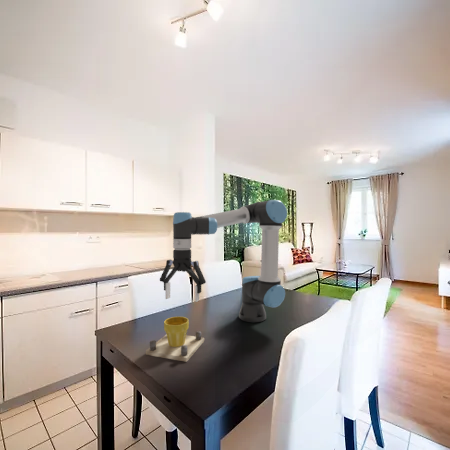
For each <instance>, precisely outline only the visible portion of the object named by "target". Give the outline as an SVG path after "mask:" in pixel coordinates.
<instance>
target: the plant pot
mask: <svg viewBox="0 0 450 450" xmlns="http://www.w3.org/2000/svg"><path fill="white" fill-rule="evenodd" d="M189 321H190V320H189V318H187V317H185V316H172V317H169V318H166V319H165V320H164V322H163V328H164V329H163V330H164V332H165V333H166V334H167V338H168V343H169V345H170V346H171V347H179V346H182V345H184V343H185V338H186V335H187V333H188V329H190V328H189V325H190V322H189ZM166 334H165V335H166Z"/></svg>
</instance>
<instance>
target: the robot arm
mask: <svg viewBox="0 0 450 450" xmlns="http://www.w3.org/2000/svg"><path fill="white" fill-rule="evenodd" d="M287 217H288V210H287V207H286V205H285V204H284V203H283V202H282V201H281V200H278V199H270V200H263V201H257V202H254V203H251V204H247V205H243V206H241V207H240V208H237V209H231V210H227V211H222V212H221V211H220V212H217V213H211V214H207V215H206V214H205V215H201V216H200V215H199V216H195V217H194V216H192V213H191V212H187V211H185V212H184V211H183V212H182V211H181V212H178V211H177V212H174V213H173V217H172V232H173V233H172V237H173V239H172V240H173V241H172V247H173V251H172V254H173V255H172V258H173V260H172V259H167V260H166V264H165V267H164V268H163V271H162V273H161V275H160V277H159V281H160V282H162V283H163V291H165V300H167V299H170V298H171V282H170V280H171V279H172V278H173V276H174V275H175V274H176V273H177V272H183V273H184V272H186V273H187V274H188V275H189V277H191V279H192V280H193V282H194V283H195V284H196V285H194V295H195V296H194V302H195V303H197V302H199V301H200V294H202V285H204V284H206V283H207V281H206V279H205V277H204V275H203V272H202V270H201V268H200V265H199V264H200V263H199V260H195V261H194V260H193V261H192V249H191V248H192V236H194V235H199V236H200V235H201V236H202V235H207V236H208V235H215V234H216V232H217V231H218V229H220V228H223V227H228V226H229V227H230V226H234V225H237V224H238V225H239V224H244V225H247V224H251V223H252V224H253V223H254V224H255V223H256V224H258V225H259V228H260V229H261V255H260V257H261V259H260V263H261V264H260V265H261V266H260V275H249V276H245V277H242V280H241V281H242V282H241V291H242V292H241V298H242V299H241V300H242V301H241V306H240V309H239V313H238V318H239V319H240V320H241V321H243V322H247V323H261V322H264V321H265V320H267V312H266V309H265V307H268V308H278V307H279V306H281V304H282V303H283V302H284V300H285V298H286V290H285V287H284V286H282V284H281V278H280V277H279V241H280V240H279V239H280V237H279V236H280V235H279V233H280V229H281V228H282V227H283V223H284V222H285V221H286V219H288V218H287ZM172 266H174V267H172ZM191 266H192V267H193V268H192V267H191ZM171 267H172V269H171ZM193 269H194V270H193ZM170 270H171V271H170ZM169 271H170V272H169Z"/></svg>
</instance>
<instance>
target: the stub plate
mask: <svg viewBox="0 0 450 450" xmlns="http://www.w3.org/2000/svg"><path fill="white" fill-rule="evenodd" d="M204 343H205V337H202V331H200V330H197V331H195V336H194V335H188V334H186V338H185V343H184V345H182V346H179V347H171V346H170V345H169V343H168V338H167V334H165V335H164V336H162V337H161V338H160V339H158V341H156V340H150V341H149V347H148V349H147V348H146V350H145V355H146V356H152V357H156V358H162V359H167V360H168V359H169V360H172V361H181V362H188V361H189V360H190V359H191V357H192V356H193V355H194V354H195V352H197V350H198V349H199V348H200V347H201V346H202V345H203V344H204Z"/></svg>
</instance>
